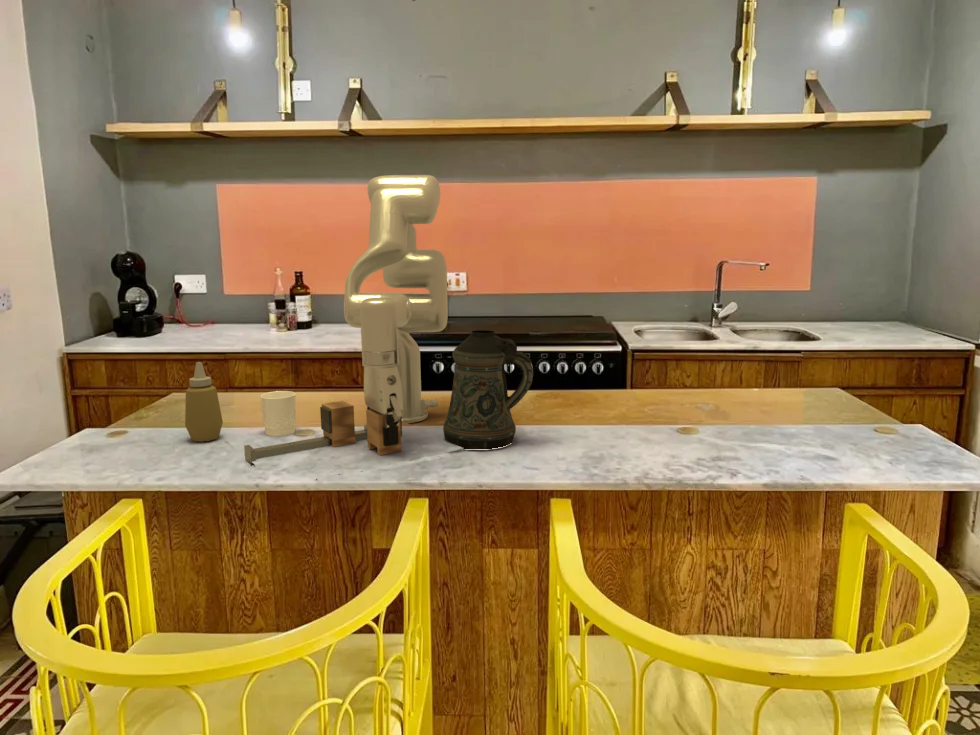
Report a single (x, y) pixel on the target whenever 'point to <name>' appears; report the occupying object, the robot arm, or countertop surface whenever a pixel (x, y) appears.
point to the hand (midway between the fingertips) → (384, 440)
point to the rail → (294, 446)
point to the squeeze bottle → (202, 407)
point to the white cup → (279, 412)
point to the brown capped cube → (380, 432)
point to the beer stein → (484, 392)
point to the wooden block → (338, 422)
